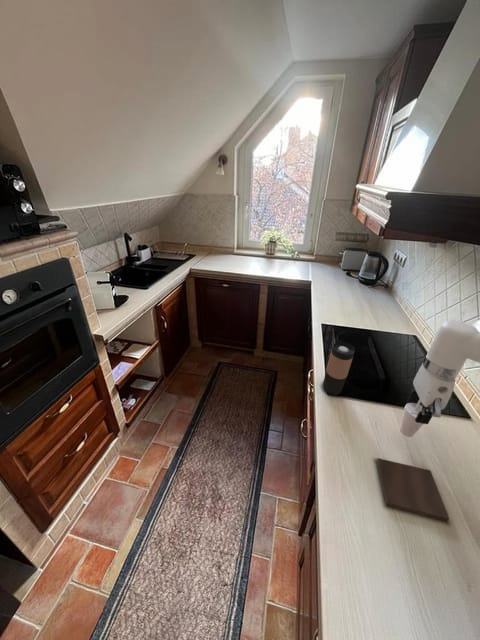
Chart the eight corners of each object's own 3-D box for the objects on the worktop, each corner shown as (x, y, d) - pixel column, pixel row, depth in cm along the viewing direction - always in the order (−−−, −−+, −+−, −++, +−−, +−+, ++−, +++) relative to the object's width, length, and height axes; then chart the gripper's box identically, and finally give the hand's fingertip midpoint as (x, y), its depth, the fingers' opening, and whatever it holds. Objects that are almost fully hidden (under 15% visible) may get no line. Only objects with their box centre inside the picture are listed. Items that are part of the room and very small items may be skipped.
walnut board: (428, 473, 73) (430, 470, 72) (446, 521, 63) (449, 518, 62) (375, 460, 75) (377, 457, 75) (385, 505, 65) (387, 502, 65)
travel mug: (317, 384, 102) (328, 344, 91) (332, 379, 104) (344, 339, 94) (330, 398, 96) (343, 356, 85) (346, 392, 98) (360, 351, 88)
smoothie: (396, 419, 84) (411, 389, 76) (419, 429, 80) (436, 398, 73) (393, 433, 79) (408, 402, 72) (417, 445, 76) (435, 413, 69)
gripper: (475, 392, 58) (443, 441, 67) (442, 348, 73) (420, 393, 82) (438, 386, 60) (412, 435, 69) (413, 345, 74) (394, 389, 83)
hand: (417, 412), depth 75 cm, fingers closed on smoothie, 6 cm apart
